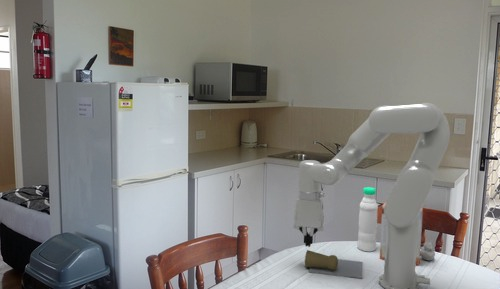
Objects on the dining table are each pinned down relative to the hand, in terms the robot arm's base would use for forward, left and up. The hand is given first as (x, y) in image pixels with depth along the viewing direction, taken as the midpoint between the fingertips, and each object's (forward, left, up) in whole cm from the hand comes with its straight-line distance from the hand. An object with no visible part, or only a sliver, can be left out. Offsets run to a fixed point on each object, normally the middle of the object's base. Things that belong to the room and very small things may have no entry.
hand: (308, 245), depth 152 cm
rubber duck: (-43, -20, -8) cm, 48 cm away
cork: (+1, 0, -5) cm, 5 cm away
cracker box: (-33, -16, -8) cm, 37 cm away
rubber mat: (-10, -2, -8) cm, 13 cm away
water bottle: (-21, -24, -8) cm, 33 cm away
